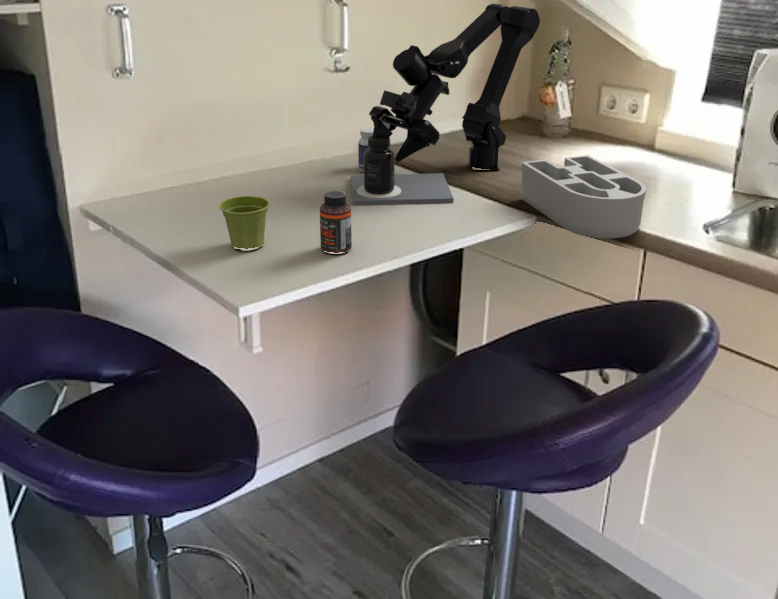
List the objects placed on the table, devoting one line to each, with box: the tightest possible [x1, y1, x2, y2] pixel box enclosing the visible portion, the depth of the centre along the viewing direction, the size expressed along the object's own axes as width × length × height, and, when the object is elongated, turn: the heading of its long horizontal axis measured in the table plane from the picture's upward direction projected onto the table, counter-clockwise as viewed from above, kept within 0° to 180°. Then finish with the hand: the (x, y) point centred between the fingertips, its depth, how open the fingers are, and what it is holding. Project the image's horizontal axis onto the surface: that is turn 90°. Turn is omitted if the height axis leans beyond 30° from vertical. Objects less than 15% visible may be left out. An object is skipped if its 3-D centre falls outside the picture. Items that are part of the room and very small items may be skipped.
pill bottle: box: [357, 127, 374, 173], centre depth 208 cm, size 6×6×10 cm
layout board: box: [350, 172, 455, 206], centre depth 196 cm, size 22×18×1 cm
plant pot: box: [219, 195, 271, 249], centre depth 164 cm, size 9×9×9 cm
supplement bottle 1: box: [319, 190, 353, 253], centre depth 162 cm, size 6×6×11 cm
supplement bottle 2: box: [363, 135, 396, 194], centre depth 190 cm, size 7×7×12 cm
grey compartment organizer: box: [520, 154, 647, 240], centre depth 180 cm, size 17×28×9 cm, turn 19°
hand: (383, 156), depth 190 cm, fingers open, 9 cm apart
